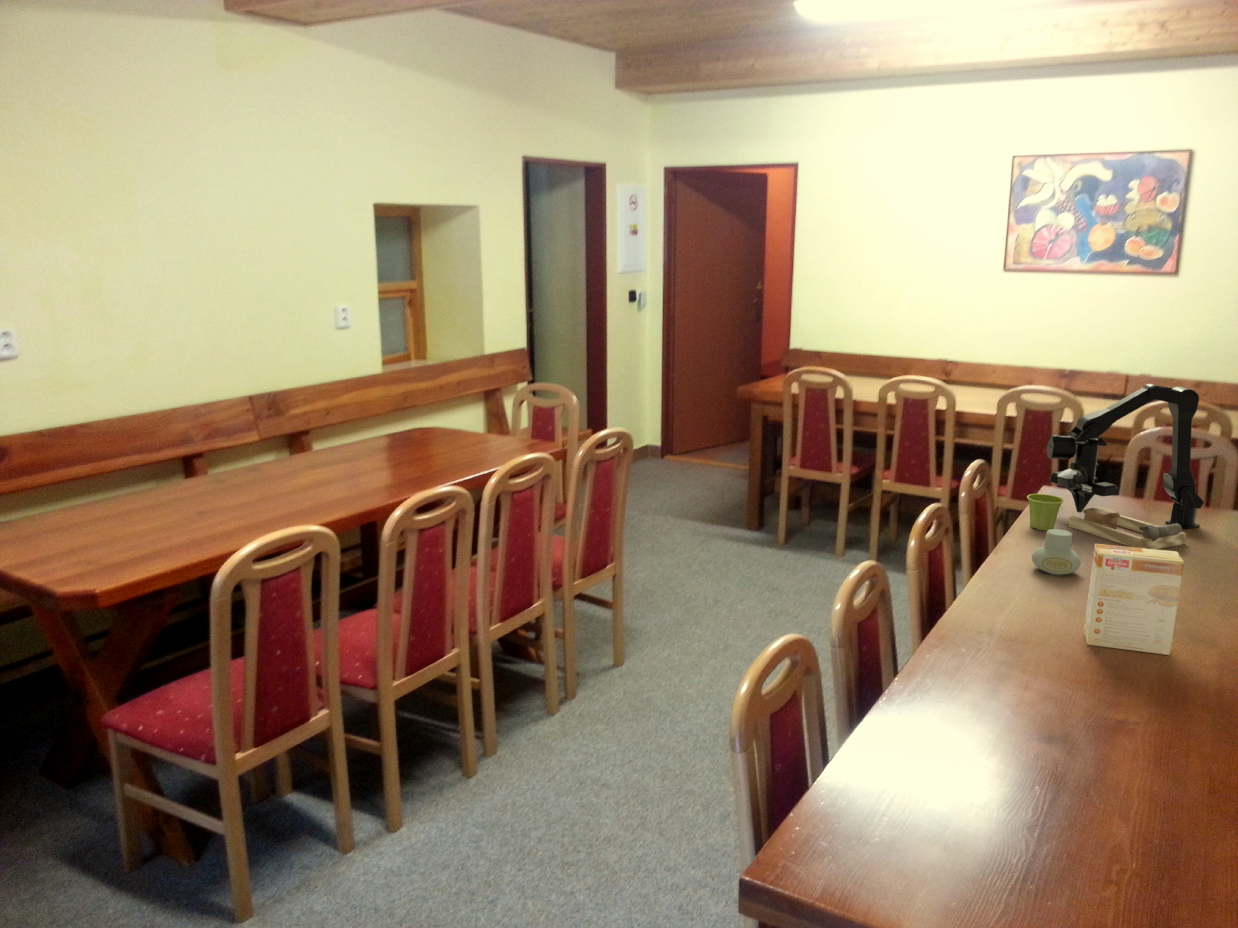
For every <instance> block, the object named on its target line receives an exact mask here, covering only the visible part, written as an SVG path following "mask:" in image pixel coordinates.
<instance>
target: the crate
mask: <svg viewBox="0 0 1238 928" xmlns="http://www.w3.org/2000/svg"><path fill="white" fill-rule="evenodd" d="M1082 512H1083V514H1084V517H1083V519H1084V520H1087V521H1090V522H1094V523H1097V524H1100V525H1103V526H1106V527H1110V528H1113V529H1116V530H1117V527H1118V525H1117V520H1118V517H1120V515H1121V514H1120V512H1118V511H1116V510H1112V509H1109V508H1105V507H1103V506H1097V507H1091V508H1084V510H1083V511H1082Z"/></svg>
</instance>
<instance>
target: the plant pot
mask: <svg viewBox="0 0 1238 928" xmlns="http://www.w3.org/2000/svg"><path fill="white" fill-rule="evenodd" d="M1026 498H1027V500H1028V505H1029V506H1028V507H1029V526H1030V527H1031V528H1032V529H1036V530H1038V531H1045V532H1047V531H1048V530H1050V529H1055V524H1056V521H1057V517H1058V515H1059V510H1060V508H1061V506H1062V504H1063V503H1064V501H1065V499H1063V498H1062V497H1060V496H1056V495H1052V494H1046V493H1031V494H1028V495H1027V496H1026Z"/></svg>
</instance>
